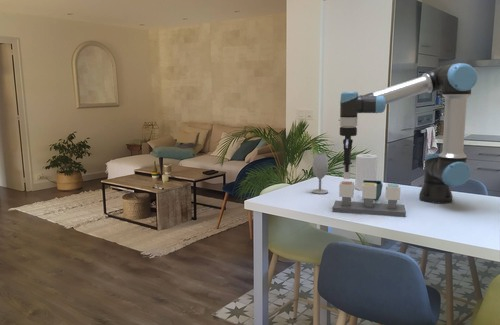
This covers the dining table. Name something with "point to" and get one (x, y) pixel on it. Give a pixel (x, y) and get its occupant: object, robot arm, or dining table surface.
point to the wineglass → (320, 170)
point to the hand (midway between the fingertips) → (346, 178)
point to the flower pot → (378, 189)
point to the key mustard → (369, 190)
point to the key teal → (392, 192)
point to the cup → (365, 169)
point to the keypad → (369, 207)
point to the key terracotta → (346, 189)
